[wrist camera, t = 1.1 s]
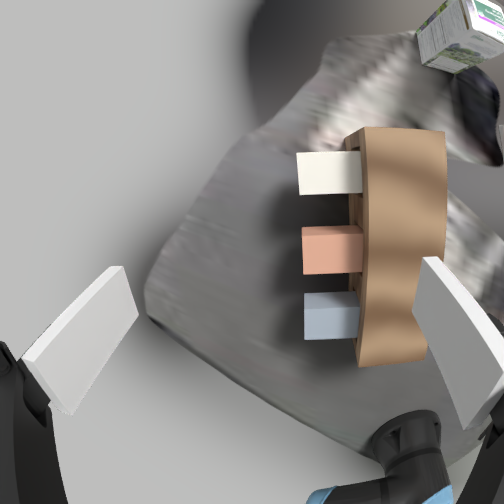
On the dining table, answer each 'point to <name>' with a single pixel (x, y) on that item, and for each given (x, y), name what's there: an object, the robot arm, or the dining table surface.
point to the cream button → (329, 172)
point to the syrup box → (461, 35)
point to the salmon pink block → (332, 249)
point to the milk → (502, 138)
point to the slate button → (331, 315)
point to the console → (396, 236)
